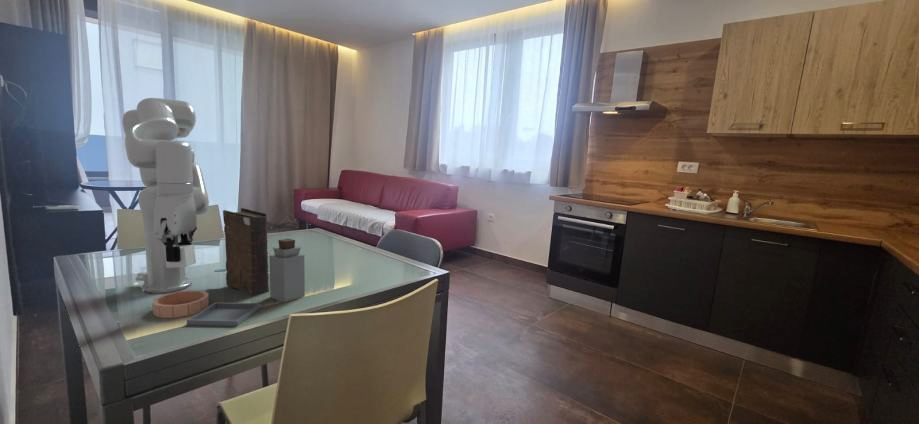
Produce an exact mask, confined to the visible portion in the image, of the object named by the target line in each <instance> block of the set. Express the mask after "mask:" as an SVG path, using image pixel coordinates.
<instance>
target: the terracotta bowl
mask: <svg viewBox="0 0 919 424" xmlns="http://www.w3.org/2000/svg"><path fill="white" fill-rule="evenodd" d="M209 306H210V303H209V292H207V291H204V290H195V289H193V290H192V289H189V290H181V291H180V290H178V291H172V292H168V293H166V294H163V295H160V296H157V297H156V298H154V299H153V301H152V314H153V315H154V316H156V317H158V318H164V319H175V318H182V317H189V316H192V315H196V314H198V313H199V312H201V311H202V310H204V309H205V308H207V307H209Z"/></svg>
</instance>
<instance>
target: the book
mask: <svg viewBox="0 0 919 424" xmlns="http://www.w3.org/2000/svg"><path fill="white" fill-rule="evenodd" d="M222 215H223V216H222V217H223V224H224V225H223V226H224V227H223V230H224V231H223V232H224V235H225V237H224V238H225V258H226V260H225V270H226V274H225V277H226V279H225V281H226V286H227V287H229V288H230V289H233V290H234V289H235V290H238V291H241V290H242V291H244V292H245V293H247V294H250V295H261V294H266V293H270V283H269V280H270V275H269V267H270V264H269V256H268V255H269V253H268V242H269V241H268V216H267V213H263V212H261V211H260V212H259V211H256V210H250V209H249V208H243V207H241V208H240V211H237V212H233V211H230V210H226V209H223V211H222Z"/></svg>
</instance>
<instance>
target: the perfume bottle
mask: <svg viewBox="0 0 919 424" xmlns="http://www.w3.org/2000/svg"><path fill="white" fill-rule="evenodd" d="M295 244H296V240H295V239H292V238H284V239H278V246H276V247H275V246H274V247H272V249H273V252H274V254H270V255H269V254H268V255H269V256H268V260H269V293H270V294H269V295H270V296H269V297H270V298H271V299H274V300H276V301H278V302H282V303H288V302H291V301H293V300H296V299H300V298H303V297H305V291H306V290H305V288H306V287H305V282H306V280H305V277H306V276H305V274H306V273H305V254H302V253H300V251H301V246H296V245H295Z"/></svg>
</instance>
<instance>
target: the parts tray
mask: <svg viewBox="0 0 919 424" xmlns="http://www.w3.org/2000/svg"><path fill="white" fill-rule="evenodd" d="M260 309H261V302H260V303H257V302H256V303H255V302H254V303H253V302H220V301H219V302H214V303H212V304H209V307H207V308H205V309H204V310H202V311H201V312H199V313H196V314H193V316H191V317H189V318H188V319H187V320H186V326H207V327H208V326H210V327H211V326H212V327H213V326H214V327H216V326H217V327H239V326H240V325H241V324H242V323H244V322H245V321H246V320H247V319H249V318H250V317H251V316H252V315H253V314H255V313H256V312H257V311H258V310H260Z"/></svg>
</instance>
